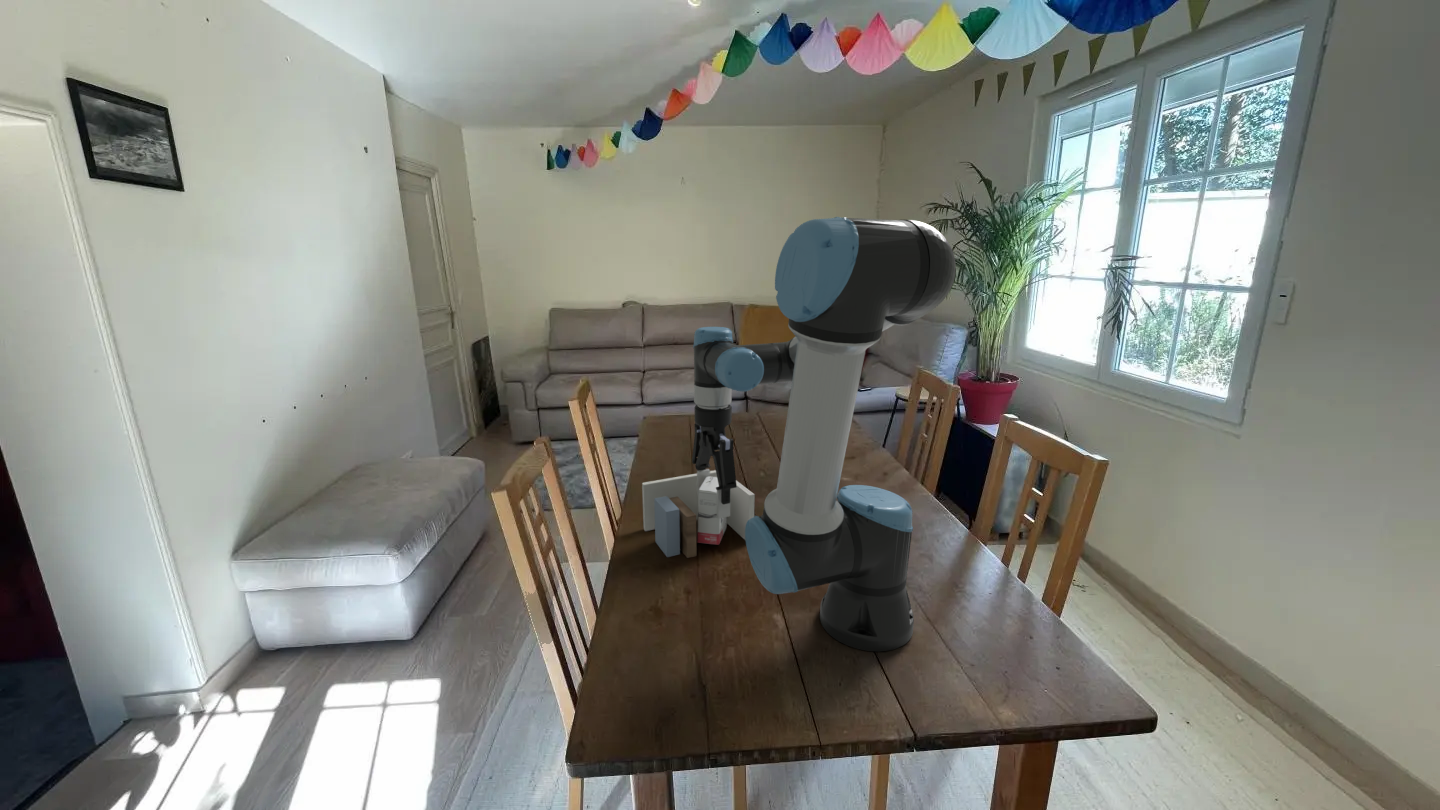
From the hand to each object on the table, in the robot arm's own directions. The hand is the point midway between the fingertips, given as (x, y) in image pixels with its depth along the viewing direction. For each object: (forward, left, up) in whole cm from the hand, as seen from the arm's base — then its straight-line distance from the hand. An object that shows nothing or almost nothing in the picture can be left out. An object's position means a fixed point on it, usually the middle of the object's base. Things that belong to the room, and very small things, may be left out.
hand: (713, 507), depth 123 cm
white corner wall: (+3, +2, -7) cm, 8 cm away
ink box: (0, 0, -7) cm, 7 cm away
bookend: (0, +7, -7) cm, 10 cm away
